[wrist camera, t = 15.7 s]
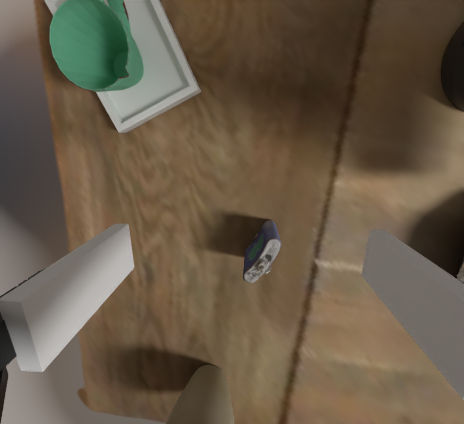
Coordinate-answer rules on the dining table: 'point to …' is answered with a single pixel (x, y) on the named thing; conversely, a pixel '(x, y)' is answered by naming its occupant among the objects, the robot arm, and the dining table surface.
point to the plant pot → (204, 399)
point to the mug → (95, 45)
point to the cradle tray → (149, 68)
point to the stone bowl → (461, 271)
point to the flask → (261, 252)
